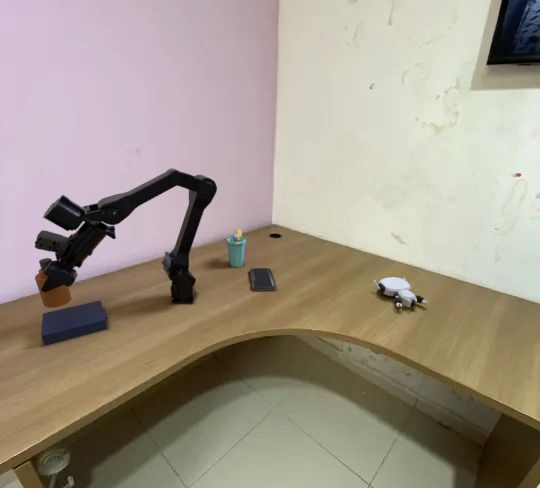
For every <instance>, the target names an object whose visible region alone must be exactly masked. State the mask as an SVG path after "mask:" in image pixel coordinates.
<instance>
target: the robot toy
mask: <svg viewBox="0 0 540 488" xmlns="http://www.w3.org/2000/svg"><path fill="white" fill-rule="evenodd" d="M373 282H374V284H375V285H376V287H377V289H378V290H379V291H380V292H381V293H382V294H383V295H385V296H387V297H394V305H395V306H396V307H397V308H402V307H406V308H414V307H416V305H417V303H419V304H423V305H427V304H428V303H429V301H427V300H426V299H425V298H424V297H423V296H421V295H419V294H418V295H416V294H415V293H413V292H412V290H411V289H412V285H411V284H410V283H409V282H408V280H407V279H406V277H404V276H403V278H402V277H385V278H382V279H380V280H379V281H378V283H377V281H376V280H375V279H373Z"/></svg>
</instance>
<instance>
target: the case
mask: <svg viewBox="0 0 540 488" xmlns="http://www.w3.org/2000/svg"><path fill="white" fill-rule="evenodd" d="M106 320H108V315H107V312H106V307H103V305H102V301H101V300H96V301H92V302H87V303H83V304H78V305H74V306H70V307H65V308H60V309H56V310H52V311H48V312H43V313H42V321H41V339H42V342H43V345H44V346H49V345H51V344H52V345H53V344H55V343H60V342H63V341H67V340H70V339H73V338H78V337H82V336H86V335H88V334H89V335H90V334H92V333H97V332H100V331H104V330H107V329H108V326H107V321H106Z"/></svg>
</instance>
